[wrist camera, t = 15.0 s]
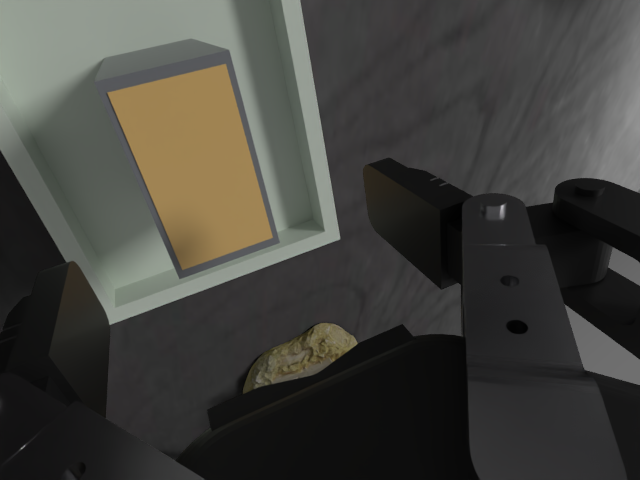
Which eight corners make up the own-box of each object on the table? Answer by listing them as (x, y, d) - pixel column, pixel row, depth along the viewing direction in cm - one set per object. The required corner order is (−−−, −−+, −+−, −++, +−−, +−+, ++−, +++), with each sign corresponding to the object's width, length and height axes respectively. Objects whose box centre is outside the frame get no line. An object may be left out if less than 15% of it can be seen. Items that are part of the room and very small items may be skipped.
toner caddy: (191, 38, 23) (229, 50, 15) (232, 174, 27) (280, 243, 19) (104, 57, 22) (93, 81, 13) (161, 196, 26) (179, 280, 18)
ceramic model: (230, 350, 34) (264, 454, 26) (354, 309, 38) (418, 390, 29) (256, 457, 41) (289, 566, 33) (359, 414, 45) (412, 503, 36)
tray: (260, -112, 22) (278, -129, 19) (323, 222, 32) (340, 239, 30) (-98, -64, 18) (-134, -77, 15) (106, 299, 28) (104, 326, 26)
